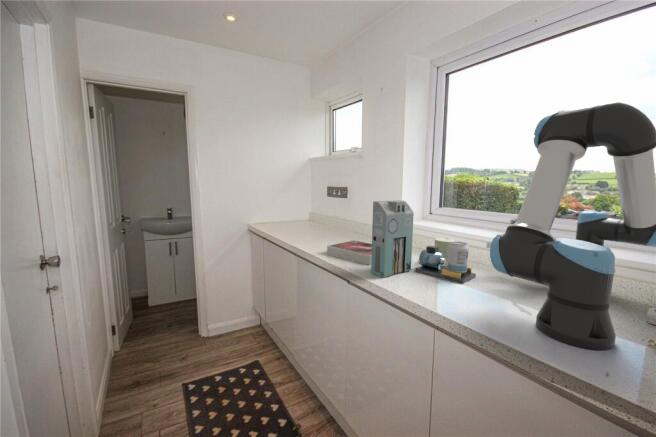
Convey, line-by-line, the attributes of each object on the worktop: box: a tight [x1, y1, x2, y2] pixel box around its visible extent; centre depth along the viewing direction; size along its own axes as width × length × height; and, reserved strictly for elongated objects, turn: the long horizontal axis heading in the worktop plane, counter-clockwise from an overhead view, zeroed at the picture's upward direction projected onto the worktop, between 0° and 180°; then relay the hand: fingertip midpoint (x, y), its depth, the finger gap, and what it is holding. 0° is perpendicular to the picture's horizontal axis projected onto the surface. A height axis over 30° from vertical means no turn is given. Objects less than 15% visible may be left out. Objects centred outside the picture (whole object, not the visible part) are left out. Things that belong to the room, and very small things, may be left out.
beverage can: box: [447, 241, 469, 274], centre depth 114 cm, size 7×7×12 cm
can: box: [434, 237, 457, 267], centre depth 134 cm, size 9×9×12 cm
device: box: [370, 199, 415, 279], centre depth 119 cm, size 16×8×30 cm, turn 126°
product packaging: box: [326, 239, 372, 266], centre depth 148 cm, size 22×28×5 cm
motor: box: [414, 245, 477, 285], centre depth 118 cm, size 12×20×10 cm, turn 41°
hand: (491, 248), depth 111 cm, fingers open, 13 cm apart
